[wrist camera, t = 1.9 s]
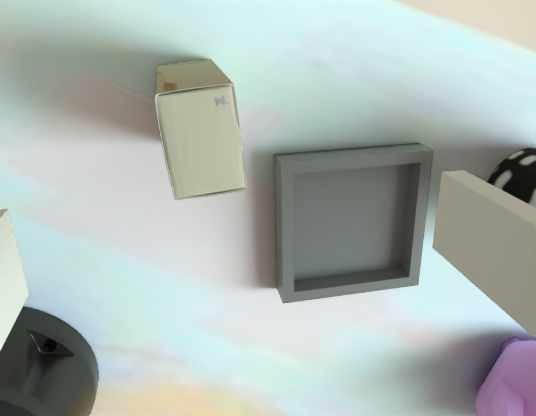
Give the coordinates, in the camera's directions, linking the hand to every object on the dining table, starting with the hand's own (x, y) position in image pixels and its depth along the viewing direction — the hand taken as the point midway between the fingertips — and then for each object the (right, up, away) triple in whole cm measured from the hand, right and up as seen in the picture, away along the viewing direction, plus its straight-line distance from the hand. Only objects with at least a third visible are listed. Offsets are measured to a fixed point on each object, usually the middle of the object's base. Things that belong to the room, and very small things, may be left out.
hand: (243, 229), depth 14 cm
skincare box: (-5, +9, +22) cm, 24 cm away
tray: (+8, 0, +28) cm, 29 cm away
